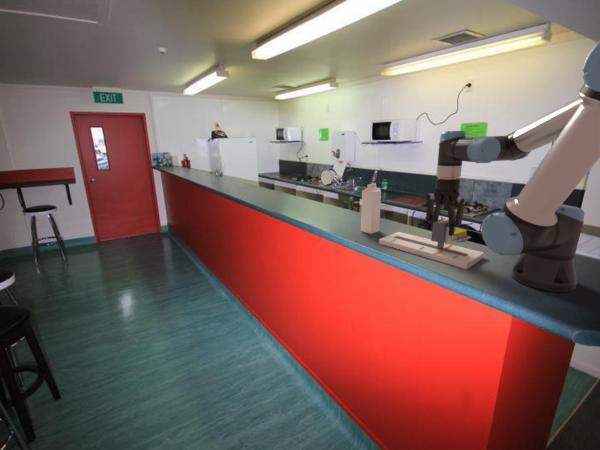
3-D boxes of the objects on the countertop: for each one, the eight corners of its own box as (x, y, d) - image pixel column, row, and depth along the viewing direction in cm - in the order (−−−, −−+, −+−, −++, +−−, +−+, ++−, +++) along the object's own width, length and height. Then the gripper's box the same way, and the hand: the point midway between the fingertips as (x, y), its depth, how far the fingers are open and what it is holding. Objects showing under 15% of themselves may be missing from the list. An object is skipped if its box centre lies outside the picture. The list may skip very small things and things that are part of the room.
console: (483, 257, 107) (484, 251, 106) (466, 269, 98) (467, 262, 97) (398, 236, 132) (398, 231, 131) (379, 243, 123) (379, 238, 123)
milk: (379, 231, 139) (382, 183, 133) (370, 234, 135) (373, 185, 129) (368, 228, 144) (371, 182, 137) (360, 231, 140) (362, 183, 134)
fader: (450, 246, 111) (453, 219, 108) (441, 251, 107) (444, 223, 104) (439, 243, 114) (442, 217, 111) (430, 248, 110) (433, 221, 107)
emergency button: (440, 221, 139) (473, 228, 126) (439, 230, 140) (472, 238, 128) (427, 224, 134) (460, 232, 122) (427, 234, 135) (459, 243, 123)
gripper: (479, 178, 99) (470, 245, 106) (429, 174, 112) (424, 234, 119) (469, 181, 95) (460, 250, 101) (419, 176, 107) (413, 239, 114)
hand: (441, 241), depth 110 cm, fingers closed on fader, 4 cm apart
